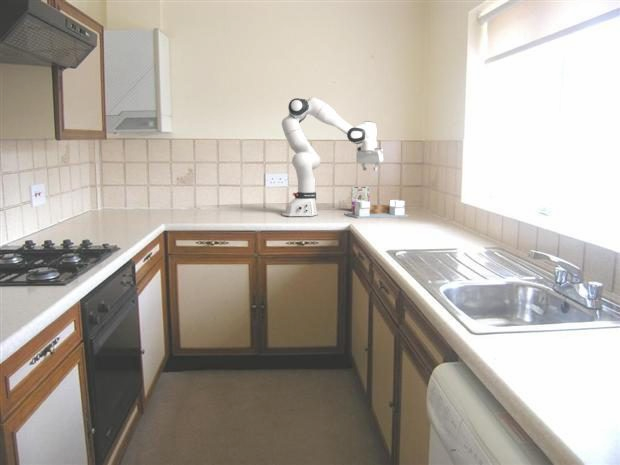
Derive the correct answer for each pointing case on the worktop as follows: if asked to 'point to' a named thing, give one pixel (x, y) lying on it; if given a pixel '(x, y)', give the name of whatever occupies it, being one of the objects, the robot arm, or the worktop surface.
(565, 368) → the worktop surface
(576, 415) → the worktop surface
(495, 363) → the worktop surface
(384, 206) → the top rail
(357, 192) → the candy bar box
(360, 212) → the grey base with supports
